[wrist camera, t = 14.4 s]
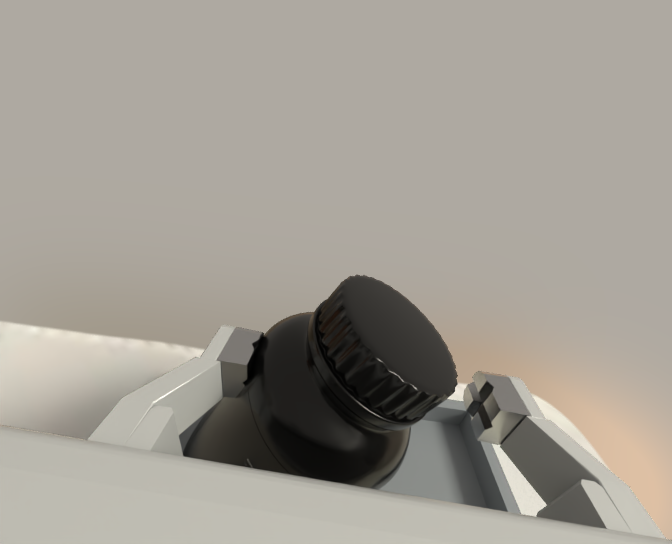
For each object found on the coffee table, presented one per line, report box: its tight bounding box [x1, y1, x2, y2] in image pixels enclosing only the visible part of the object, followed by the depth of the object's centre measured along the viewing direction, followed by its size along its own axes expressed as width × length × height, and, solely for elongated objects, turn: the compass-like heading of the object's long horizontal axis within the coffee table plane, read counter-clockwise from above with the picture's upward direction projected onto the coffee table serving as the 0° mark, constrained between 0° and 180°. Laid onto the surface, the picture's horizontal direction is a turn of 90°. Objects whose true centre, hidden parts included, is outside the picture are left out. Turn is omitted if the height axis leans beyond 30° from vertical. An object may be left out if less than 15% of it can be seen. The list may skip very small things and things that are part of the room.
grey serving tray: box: [179, 399, 521, 514], centre depth 14 cm, size 20×12×2 cm, turn 87°
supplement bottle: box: [183, 275, 458, 490], centre depth 11 cm, size 7×7×12 cm
